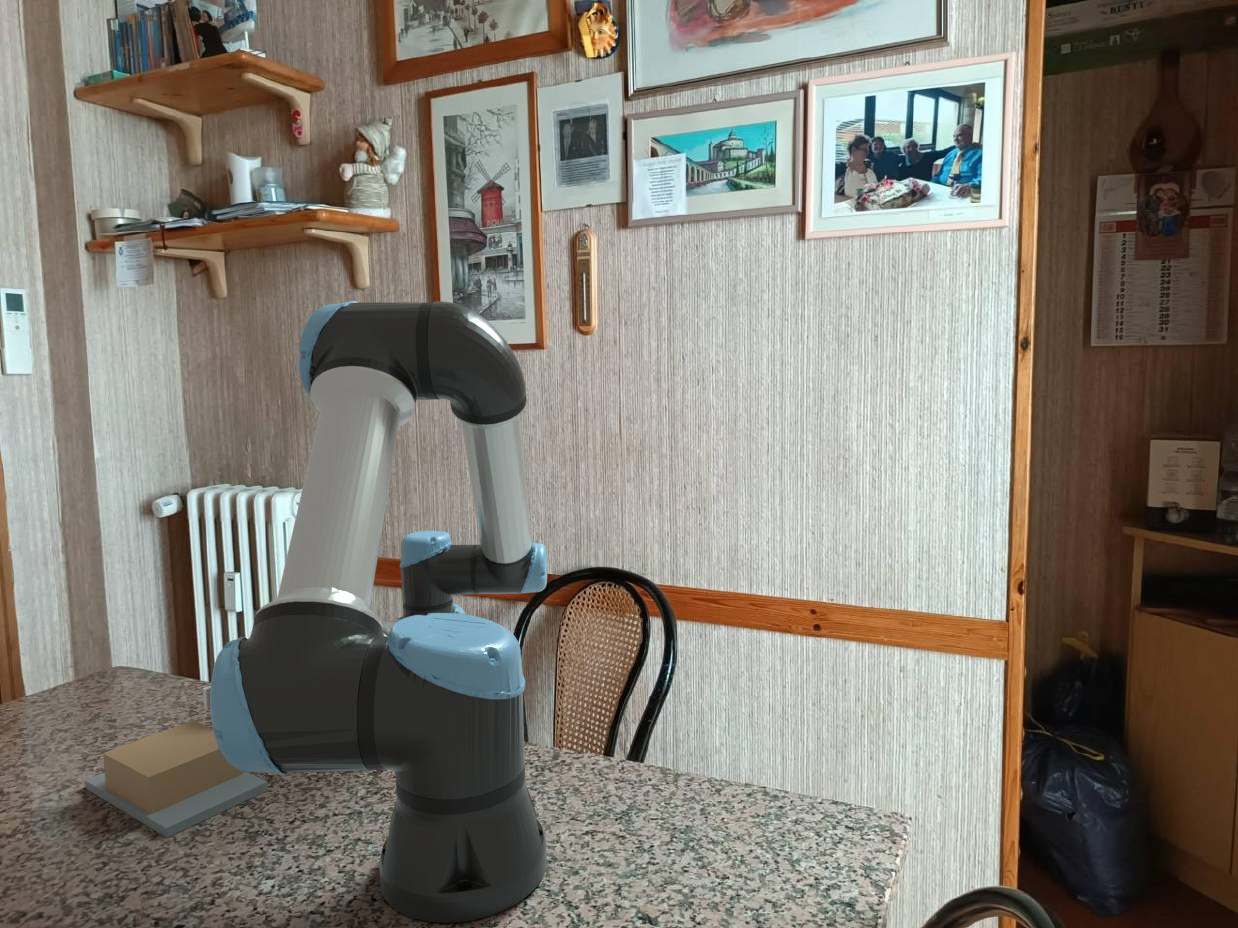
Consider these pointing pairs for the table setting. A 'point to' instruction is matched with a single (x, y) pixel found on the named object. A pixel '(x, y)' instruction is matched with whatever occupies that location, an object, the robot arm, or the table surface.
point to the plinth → (188, 805)
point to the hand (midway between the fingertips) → (224, 706)
